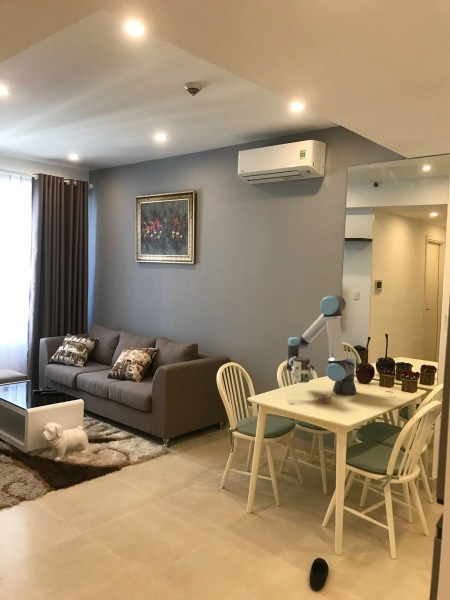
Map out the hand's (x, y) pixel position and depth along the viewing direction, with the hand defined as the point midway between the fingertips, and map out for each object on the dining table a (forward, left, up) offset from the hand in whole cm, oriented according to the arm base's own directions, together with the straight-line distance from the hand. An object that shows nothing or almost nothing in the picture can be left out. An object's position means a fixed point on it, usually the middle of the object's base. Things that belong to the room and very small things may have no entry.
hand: (302, 370), depth 295 cm
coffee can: (0, -4, -8) cm, 9 cm away
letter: (+1, +3, -19) cm, 19 cm away
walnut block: (-13, +3, -19) cm, 24 cm away
